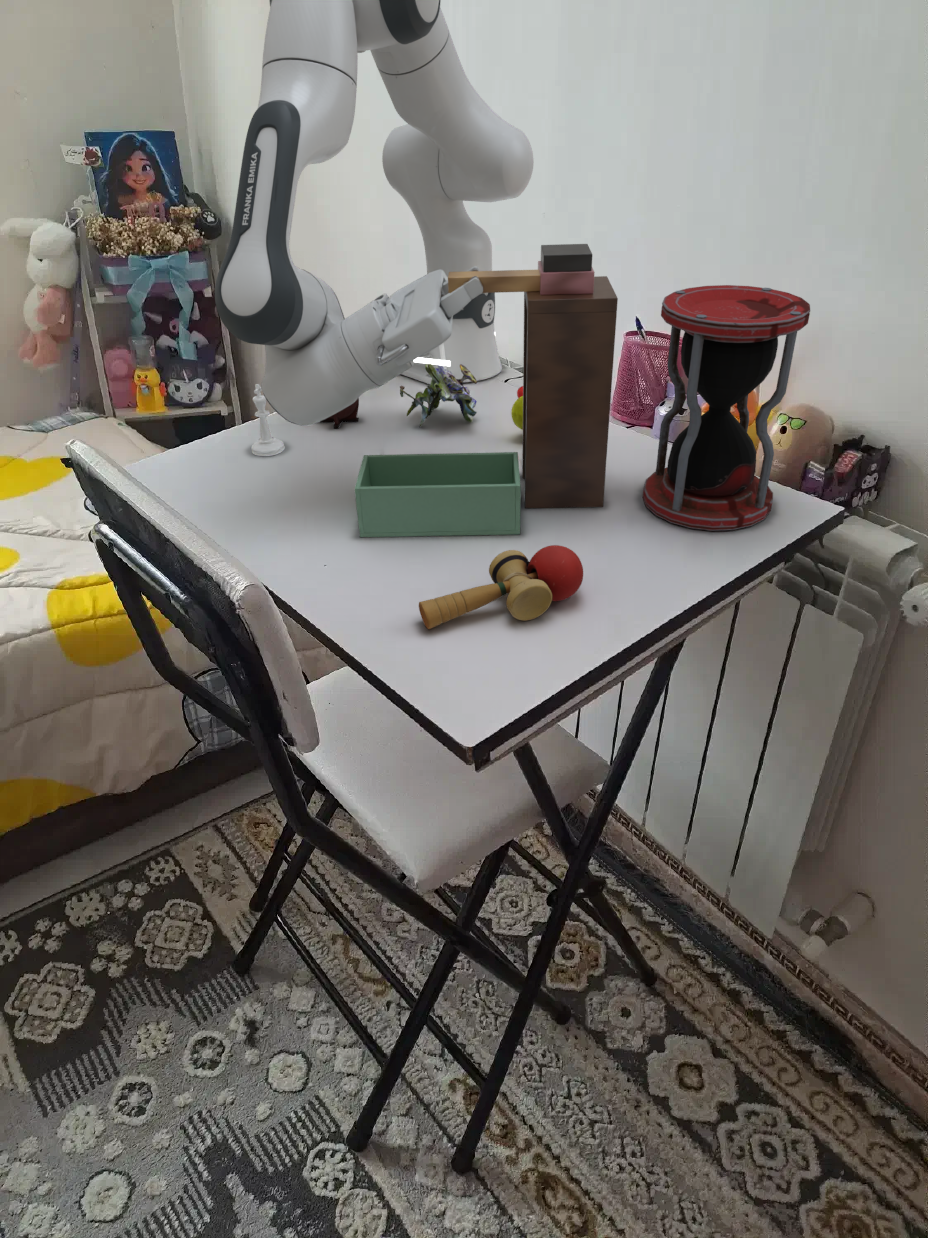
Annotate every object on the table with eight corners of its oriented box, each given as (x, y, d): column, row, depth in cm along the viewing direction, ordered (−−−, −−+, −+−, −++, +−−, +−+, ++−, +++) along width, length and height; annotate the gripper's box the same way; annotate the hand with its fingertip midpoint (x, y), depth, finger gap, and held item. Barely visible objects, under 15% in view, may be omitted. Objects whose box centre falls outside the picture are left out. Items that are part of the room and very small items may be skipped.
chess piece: (290, 444, 130) (280, 379, 124) (276, 457, 126) (265, 391, 120) (260, 441, 131) (249, 377, 125) (245, 454, 127) (233, 389, 121)
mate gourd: (321, 413, 140) (309, 319, 131) (369, 412, 140) (360, 318, 131) (312, 431, 134) (299, 333, 125) (363, 430, 133) (353, 333, 125)
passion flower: (467, 452, 139) (496, 406, 128) (404, 454, 134) (429, 406, 124) (449, 395, 142) (476, 346, 132) (388, 394, 138) (410, 343, 128)
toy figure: (553, 463, 121) (555, 418, 118) (514, 465, 122) (514, 419, 118) (543, 415, 136) (544, 374, 132) (508, 417, 136) (508, 375, 132)
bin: (359, 537, 106) (354, 488, 102) (368, 501, 114) (363, 454, 110) (520, 534, 105) (520, 485, 101) (517, 498, 113) (517, 451, 109)
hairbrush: (448, 297, 98) (446, 258, 95) (449, 284, 103) (448, 246, 100) (593, 293, 97) (595, 254, 95) (588, 280, 102) (589, 242, 100)
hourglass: (730, 545, 101) (766, 331, 87) (617, 504, 111) (634, 304, 96) (794, 498, 111) (836, 298, 96) (685, 464, 120) (709, 276, 106)
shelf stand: (525, 508, 111) (527, 300, 96) (522, 474, 119) (524, 278, 104) (603, 506, 110) (617, 297, 96) (594, 473, 119) (607, 275, 104)
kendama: (442, 661, 87) (601, 601, 90) (427, 607, 84) (592, 547, 87) (421, 631, 93) (569, 577, 97) (406, 580, 91) (560, 526, 94)
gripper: (357, 344, 94) (465, 274, 89) (376, 295, 110) (467, 234, 106) (389, 392, 97) (495, 327, 92) (403, 337, 113) (493, 280, 109)
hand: (480, 277), depth 99 cm, fingers open, 3 cm apart
